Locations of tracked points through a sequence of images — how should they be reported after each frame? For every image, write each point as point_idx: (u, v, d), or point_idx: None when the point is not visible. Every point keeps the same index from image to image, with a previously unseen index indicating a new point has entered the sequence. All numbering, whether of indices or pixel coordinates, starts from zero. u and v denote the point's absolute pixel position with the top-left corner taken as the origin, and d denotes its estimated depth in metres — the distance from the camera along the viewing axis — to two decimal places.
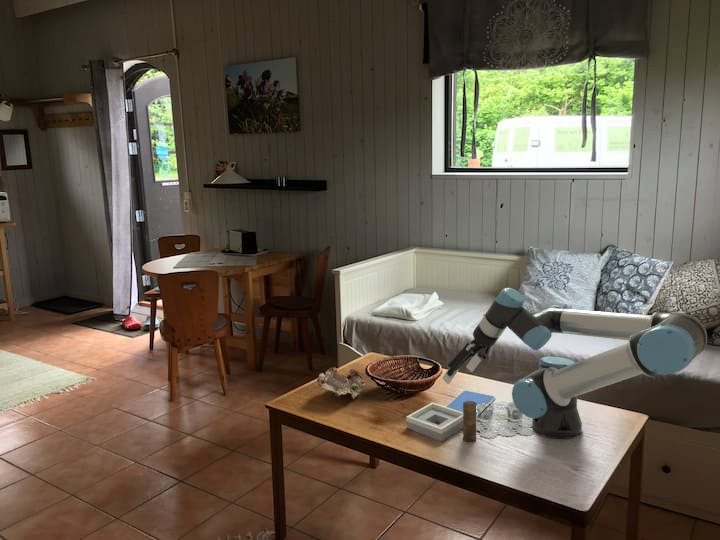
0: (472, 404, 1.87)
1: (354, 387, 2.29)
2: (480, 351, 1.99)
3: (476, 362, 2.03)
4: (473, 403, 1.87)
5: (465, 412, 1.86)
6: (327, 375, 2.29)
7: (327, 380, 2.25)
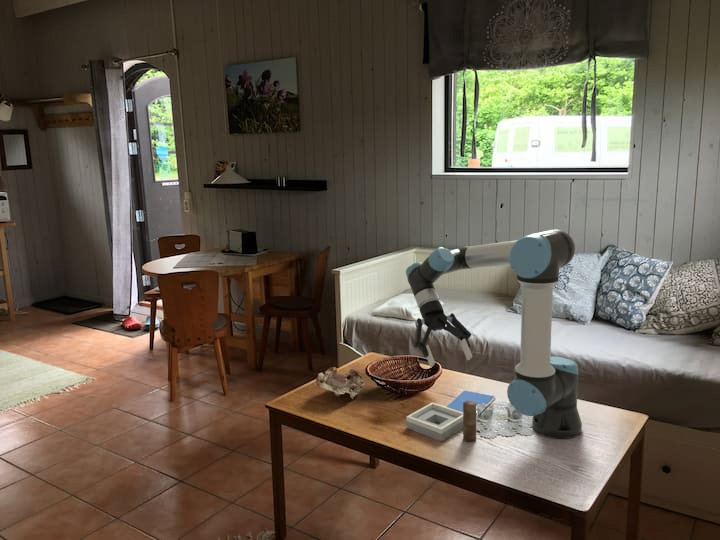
0: (472, 404, 1.87)
1: (353, 387, 2.29)
2: (453, 332, 2.01)
3: (464, 345, 1.99)
4: (473, 403, 1.87)
5: (465, 412, 1.86)
6: (327, 375, 2.29)
7: (326, 380, 2.25)
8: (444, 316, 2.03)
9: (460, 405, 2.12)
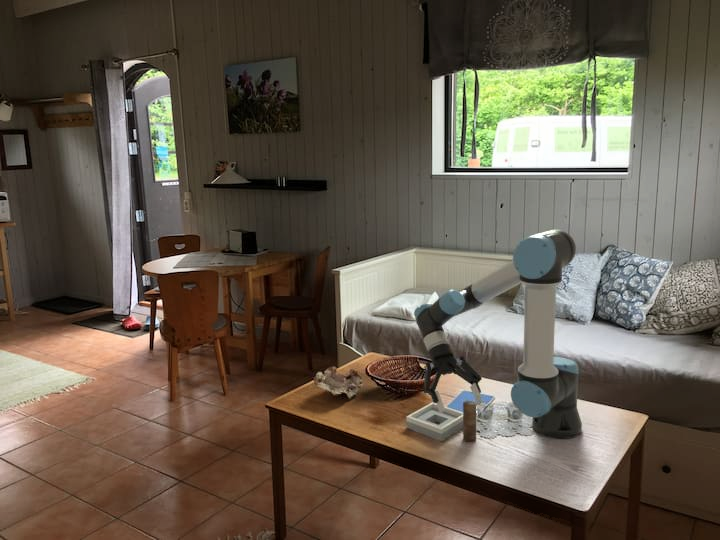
0: (472, 404, 1.87)
1: (352, 387, 2.29)
2: (463, 376, 1.97)
3: (475, 390, 1.95)
4: (473, 403, 1.87)
5: (465, 412, 1.86)
6: (326, 374, 2.30)
7: (325, 379, 2.26)
8: (454, 359, 1.99)
9: (460, 405, 2.12)
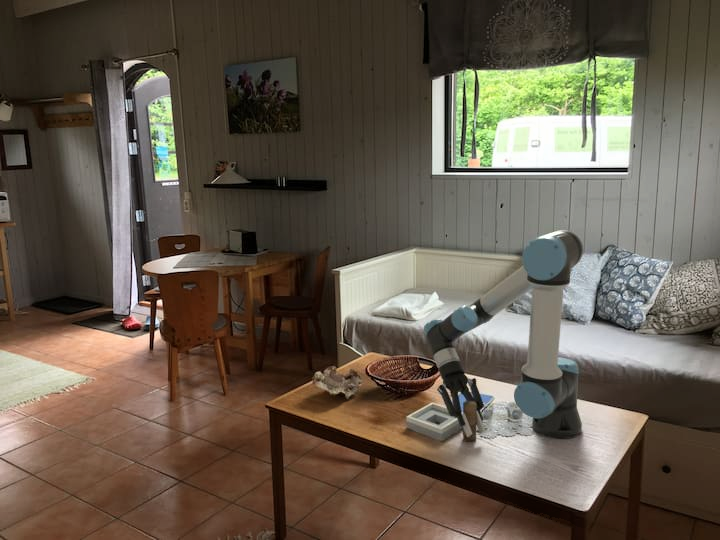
0: (472, 404, 1.87)
1: (351, 387, 2.29)
2: (468, 398, 1.91)
3: (477, 418, 1.88)
4: (473, 403, 1.87)
5: (465, 412, 1.86)
6: (325, 373, 2.30)
7: (324, 378, 2.26)
8: (465, 377, 1.95)
9: (460, 405, 2.12)
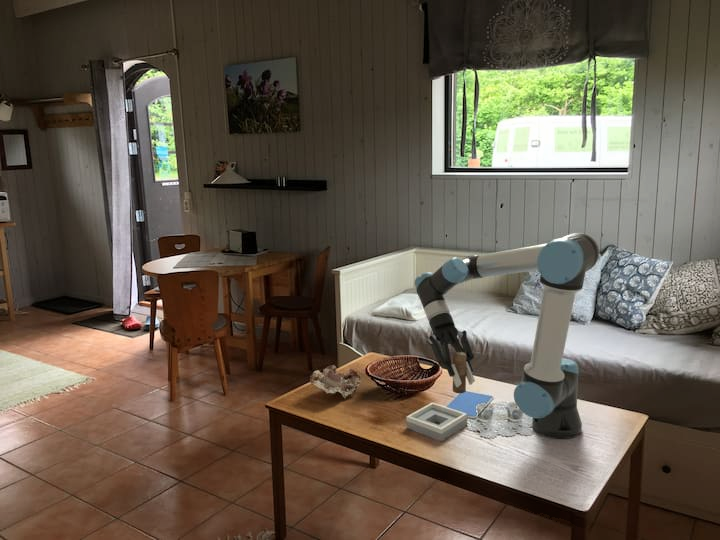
0: (462, 354, 1.86)
1: (350, 387, 2.29)
2: (458, 350, 1.91)
3: (466, 369, 1.87)
4: (463, 354, 1.87)
5: (455, 362, 1.86)
6: (325, 372, 2.31)
7: (322, 377, 2.27)
8: (455, 329, 1.94)
9: (459, 405, 2.12)
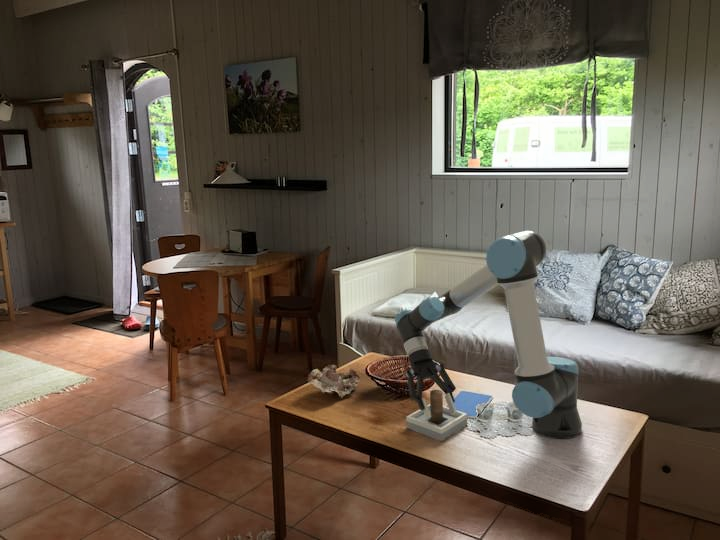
0: (438, 393, 1.96)
1: (349, 386, 2.29)
2: (439, 383, 2.01)
3: (449, 400, 1.98)
4: (439, 392, 1.96)
5: (432, 400, 1.96)
6: (324, 371, 2.32)
7: (321, 376, 2.28)
8: (433, 364, 2.04)
9: (459, 405, 2.12)
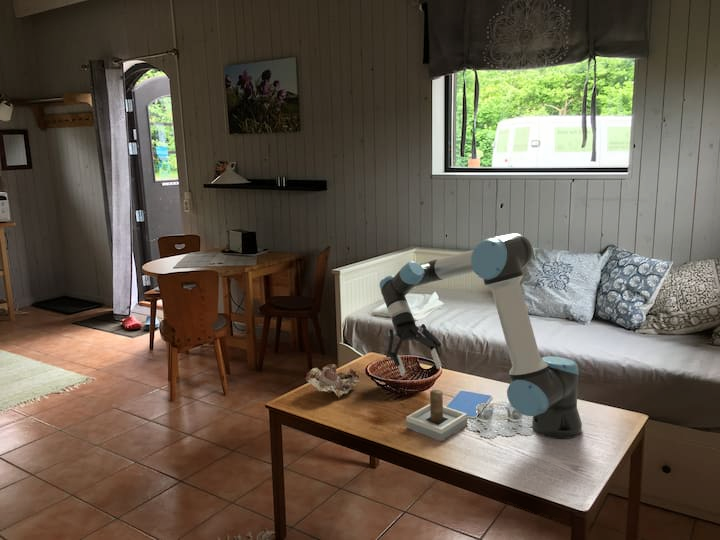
0: (438, 393, 1.96)
1: (348, 386, 2.30)
2: (424, 342, 2.11)
3: (434, 354, 2.09)
4: (439, 392, 1.96)
5: (432, 400, 1.96)
6: (324, 371, 2.33)
7: (320, 375, 2.29)
8: (415, 327, 2.13)
9: (459, 405, 2.12)
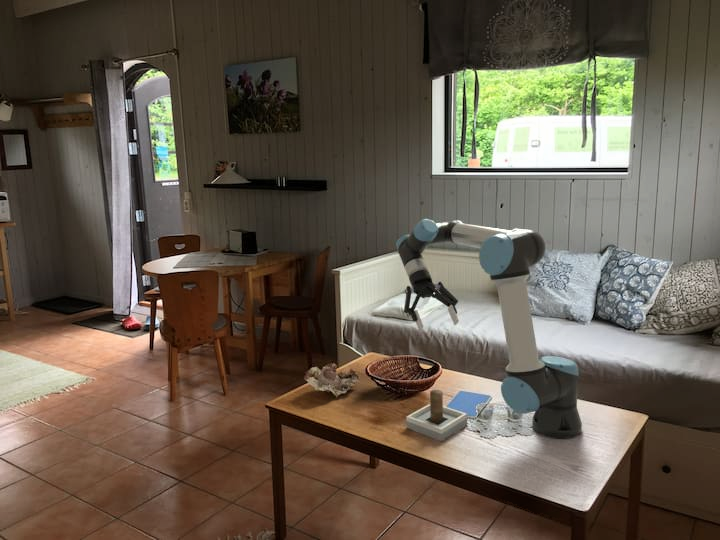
0: (438, 393, 1.96)
1: (347, 386, 2.30)
2: (441, 299, 2.13)
3: (451, 311, 2.11)
4: (439, 392, 1.96)
5: (432, 400, 1.96)
6: (324, 370, 2.34)
7: None
8: (432, 284, 2.15)
9: (458, 405, 2.12)
